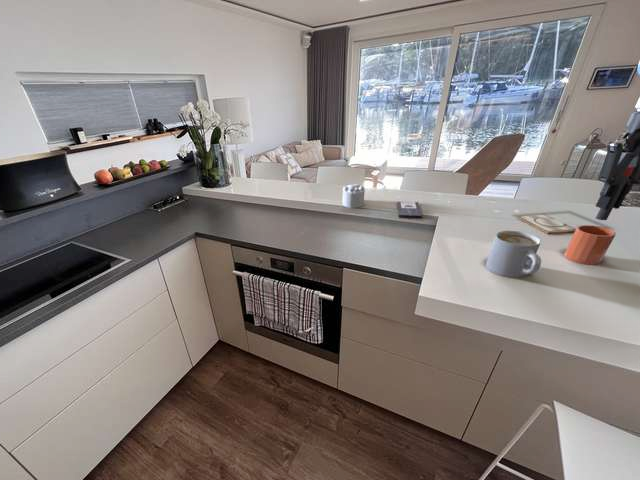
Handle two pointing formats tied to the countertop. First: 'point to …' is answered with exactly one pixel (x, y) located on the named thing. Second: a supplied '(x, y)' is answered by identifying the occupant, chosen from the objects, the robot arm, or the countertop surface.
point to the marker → (605, 213)
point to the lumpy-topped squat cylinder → (353, 196)
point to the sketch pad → (546, 224)
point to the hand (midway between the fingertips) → (607, 207)
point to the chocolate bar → (409, 209)
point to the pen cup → (589, 244)
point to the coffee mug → (514, 254)
